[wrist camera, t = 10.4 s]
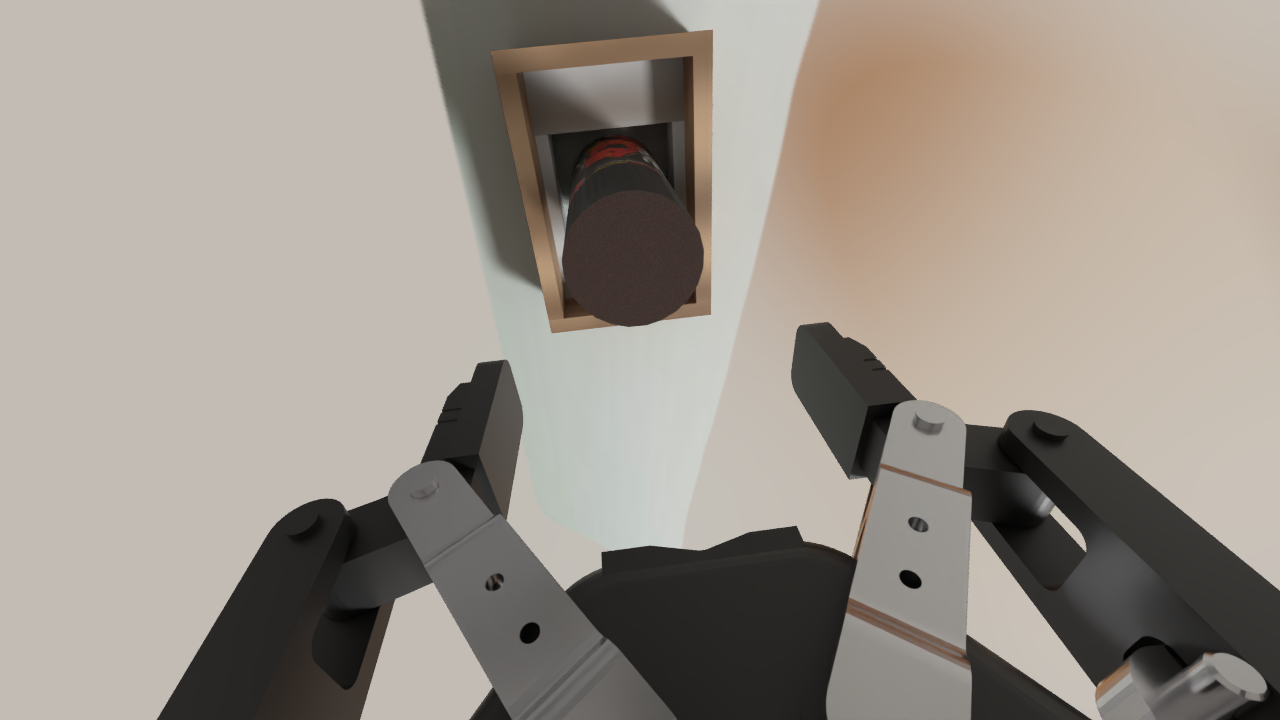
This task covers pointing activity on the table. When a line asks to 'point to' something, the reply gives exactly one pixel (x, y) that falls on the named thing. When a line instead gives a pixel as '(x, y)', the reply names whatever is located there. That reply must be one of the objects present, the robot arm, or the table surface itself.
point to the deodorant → (628, 236)
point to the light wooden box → (601, 99)
